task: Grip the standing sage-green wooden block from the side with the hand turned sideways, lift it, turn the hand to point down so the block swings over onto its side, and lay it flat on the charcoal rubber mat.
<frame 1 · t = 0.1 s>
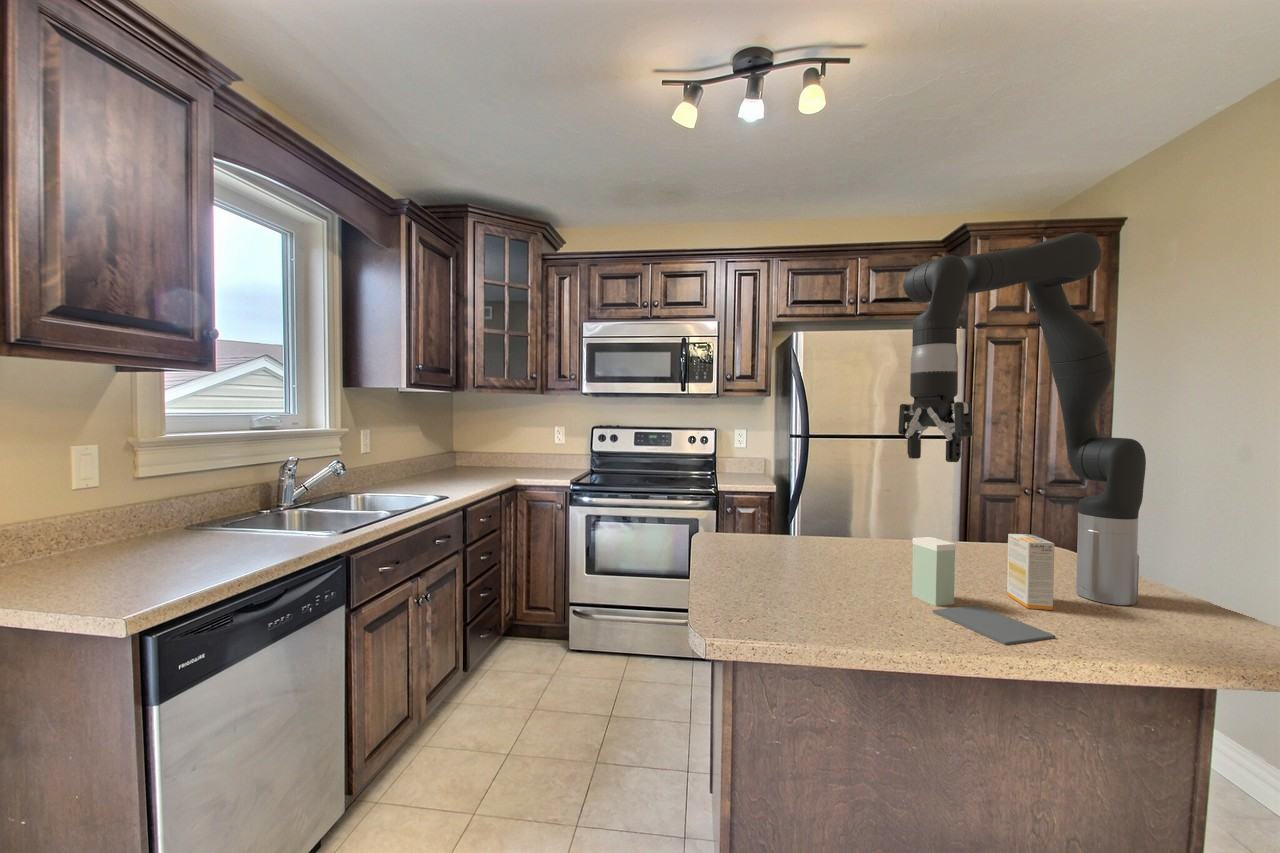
hand: (932, 460, 94), 29 cm above the countertop, tool pointing down, fingers open, 8 cm apart
sage block: (932, 599, 105), on the countertop
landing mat: (990, 624, 93), on the countertop
supplement box: (1029, 603, 104), on the countertop
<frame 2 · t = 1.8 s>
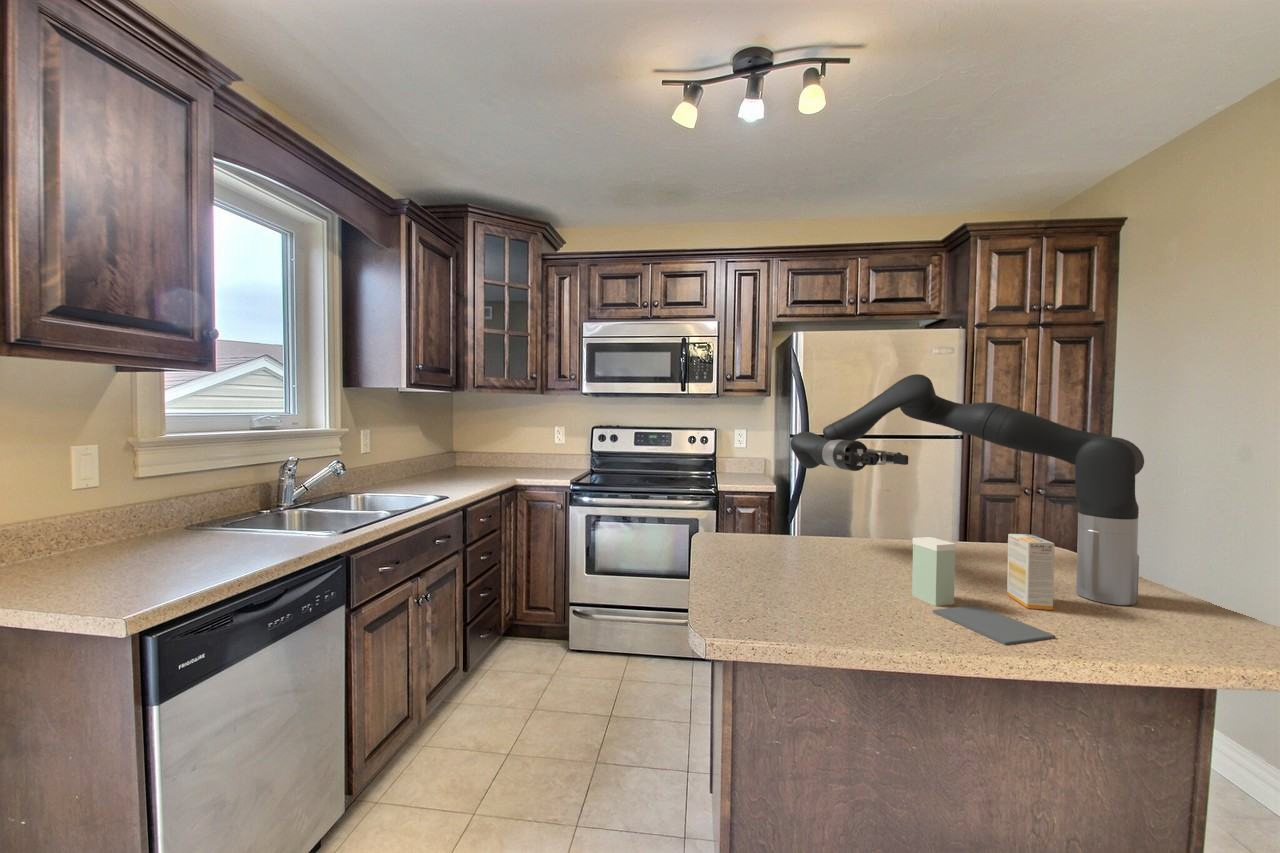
hand: (891, 460, 116), 27 cm above the countertop, tool horizontal, fingers open, 8 cm apart
nothing on the countertop moved.
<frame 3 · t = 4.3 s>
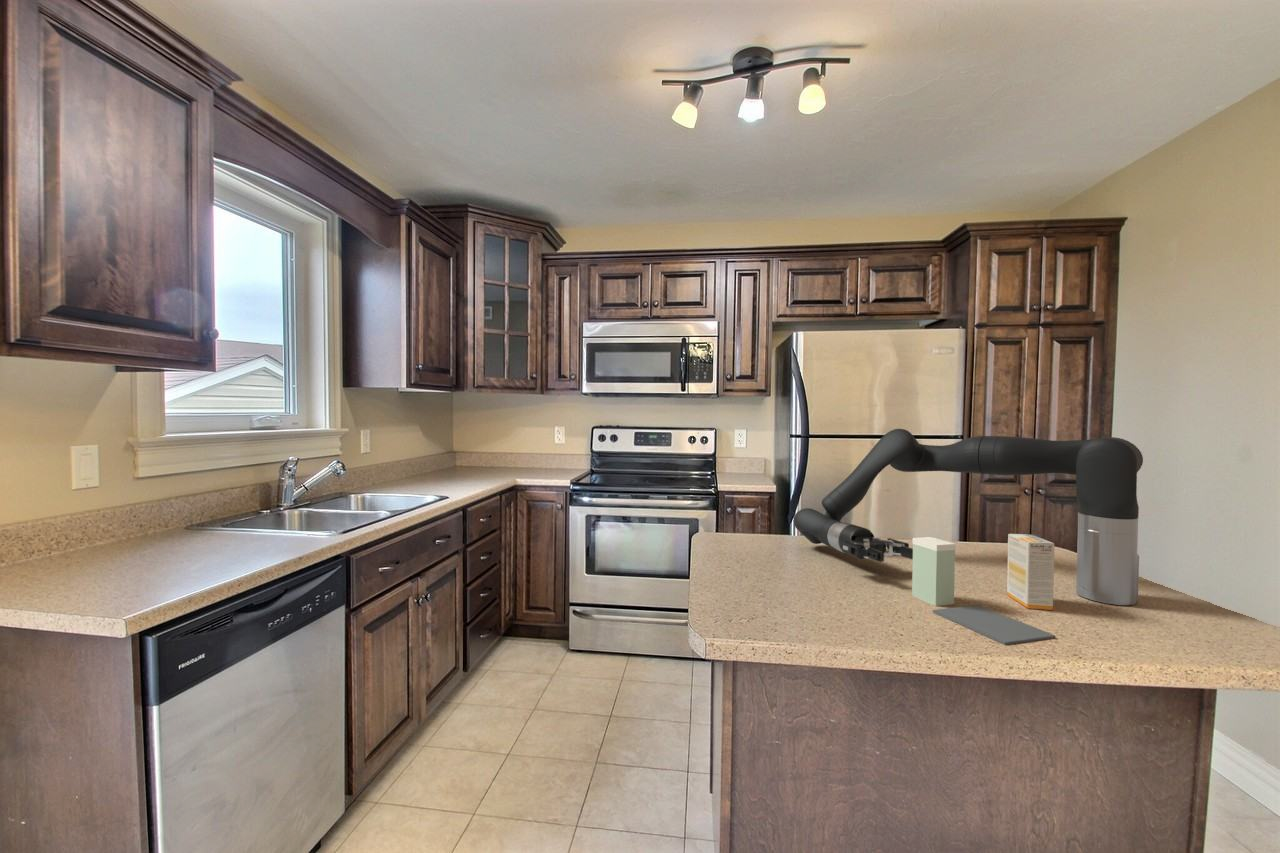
hand: (899, 556, 114), 6 cm above the countertop, tool horizontal, fingers open, 8 cm apart
nothing on the countertop moved.
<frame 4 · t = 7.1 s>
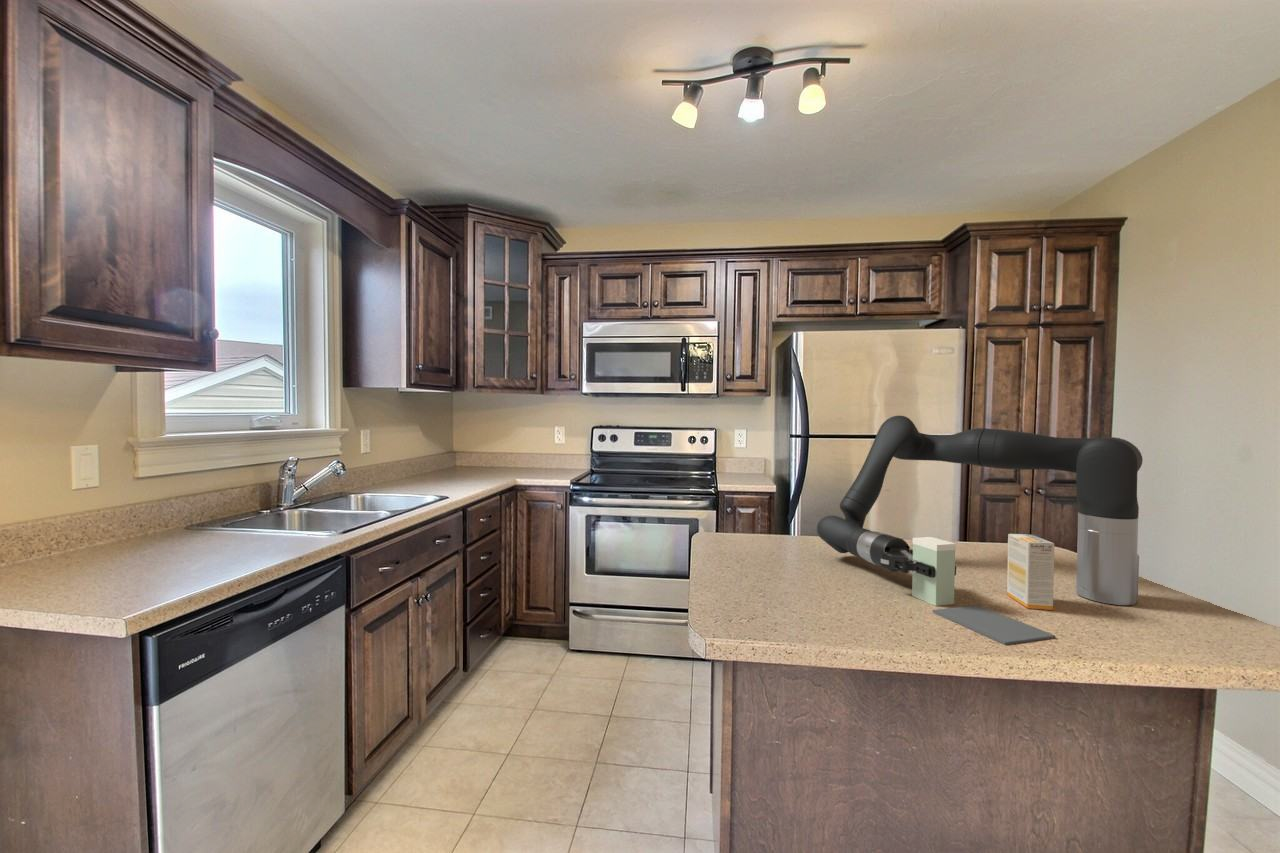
hand: (944, 571, 102), 7 cm above the countertop, tool horizontal, fingers closed on sage block, 4 cm apart
sage block: (932, 599, 105), on the countertop, touching gripper
everything else where it was.
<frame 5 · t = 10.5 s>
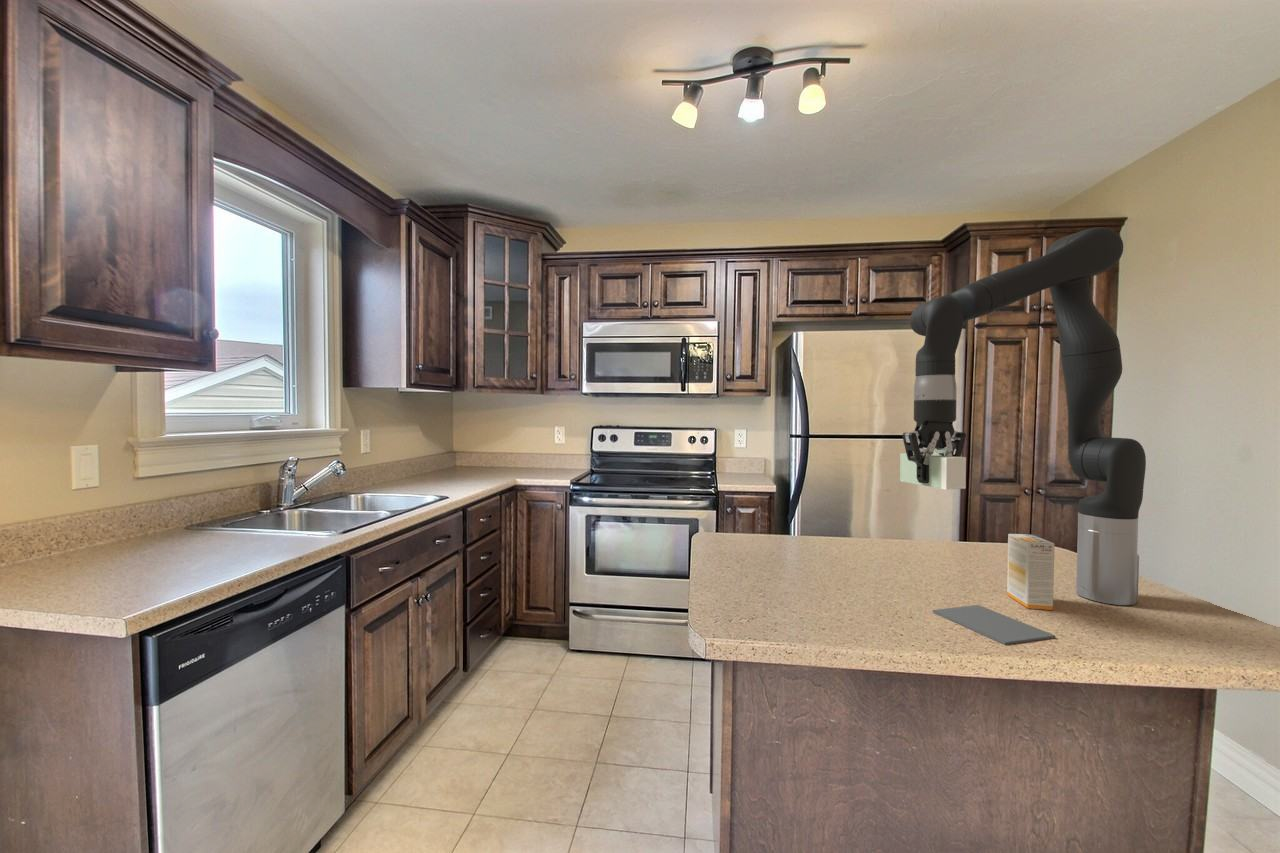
hand: (933, 482, 105), 24 cm above the countertop, tool pointing down, fingers closed on sage block, 4 cm apart
sage block: (909, 467, 111), point 26 cm above the countertop, tilted 90°, touching gripper
everything else where it was.
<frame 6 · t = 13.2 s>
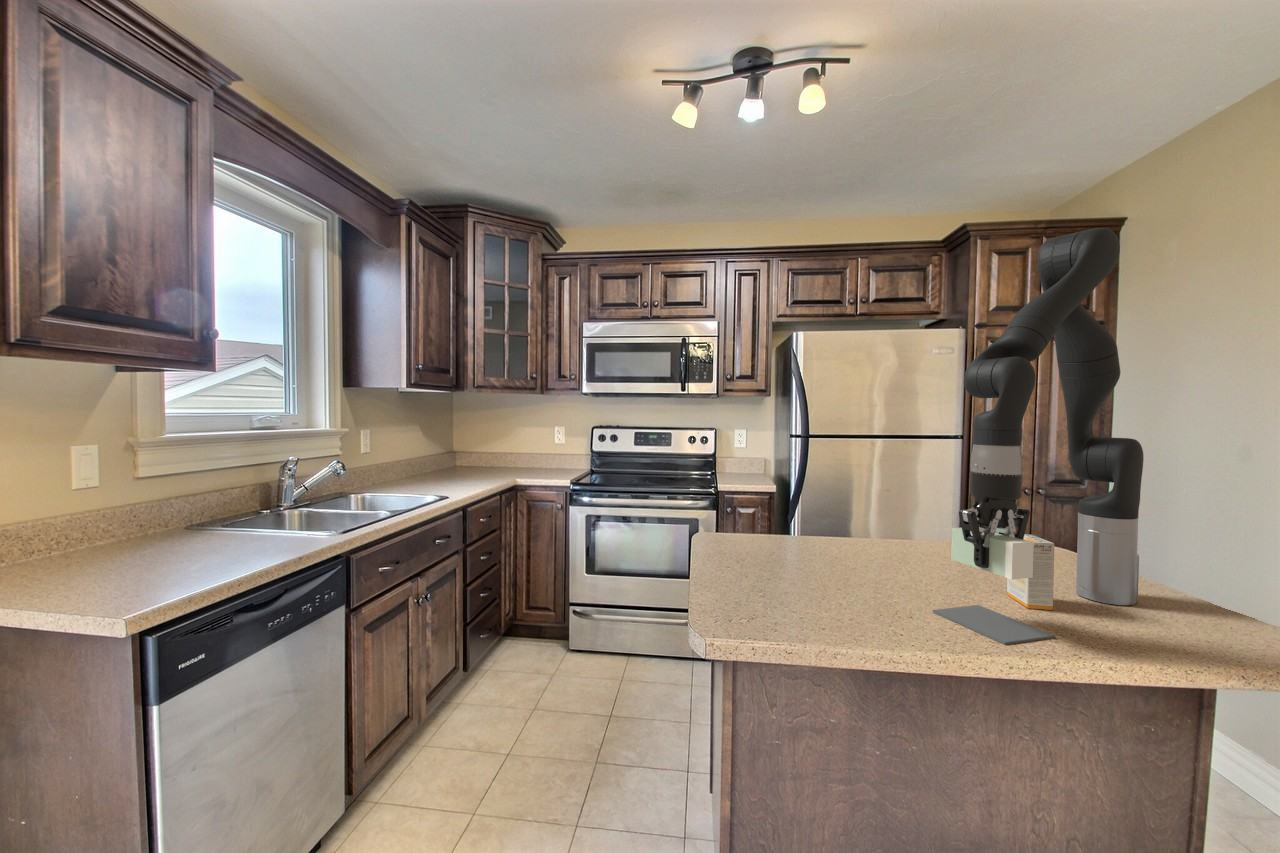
hand: (993, 565, 92), 11 cm above the countertop, tool pointing down, fingers closed on sage block, 4 cm apart
sage block: (960, 543, 99), point 13 cm above the countertop, tilted 90°, touching gripper
everything else where it was.
when the fingers open (3 cm above the countertop, at t = 15.4 s): sage block drops 2 cm, resting on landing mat.
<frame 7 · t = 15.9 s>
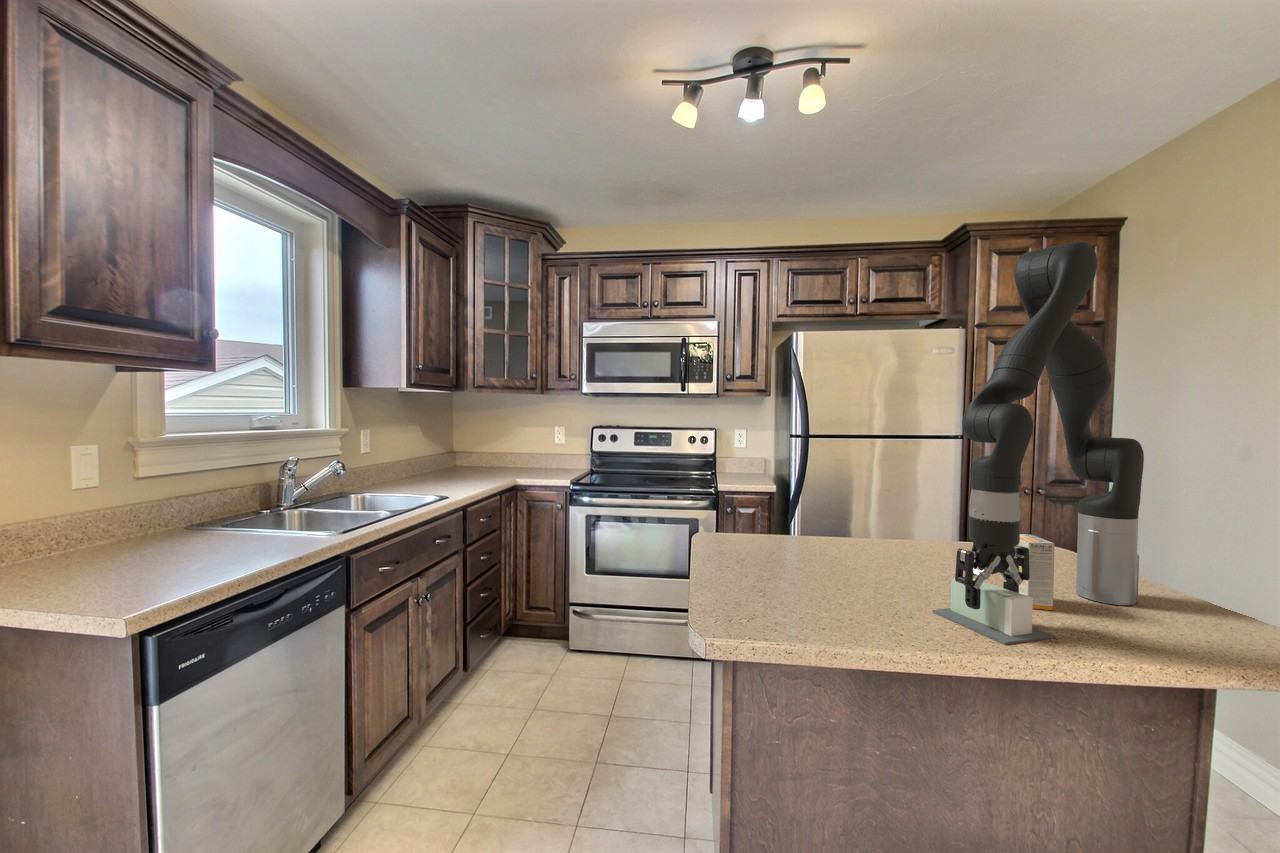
hand: (991, 605, 92), 3 cm above the countertop, tool pointing down, fingers open, 8 cm apart
sage block: (960, 593, 99), point 3 cm above the countertop, tilted 90°, touching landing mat
everything else where it was.
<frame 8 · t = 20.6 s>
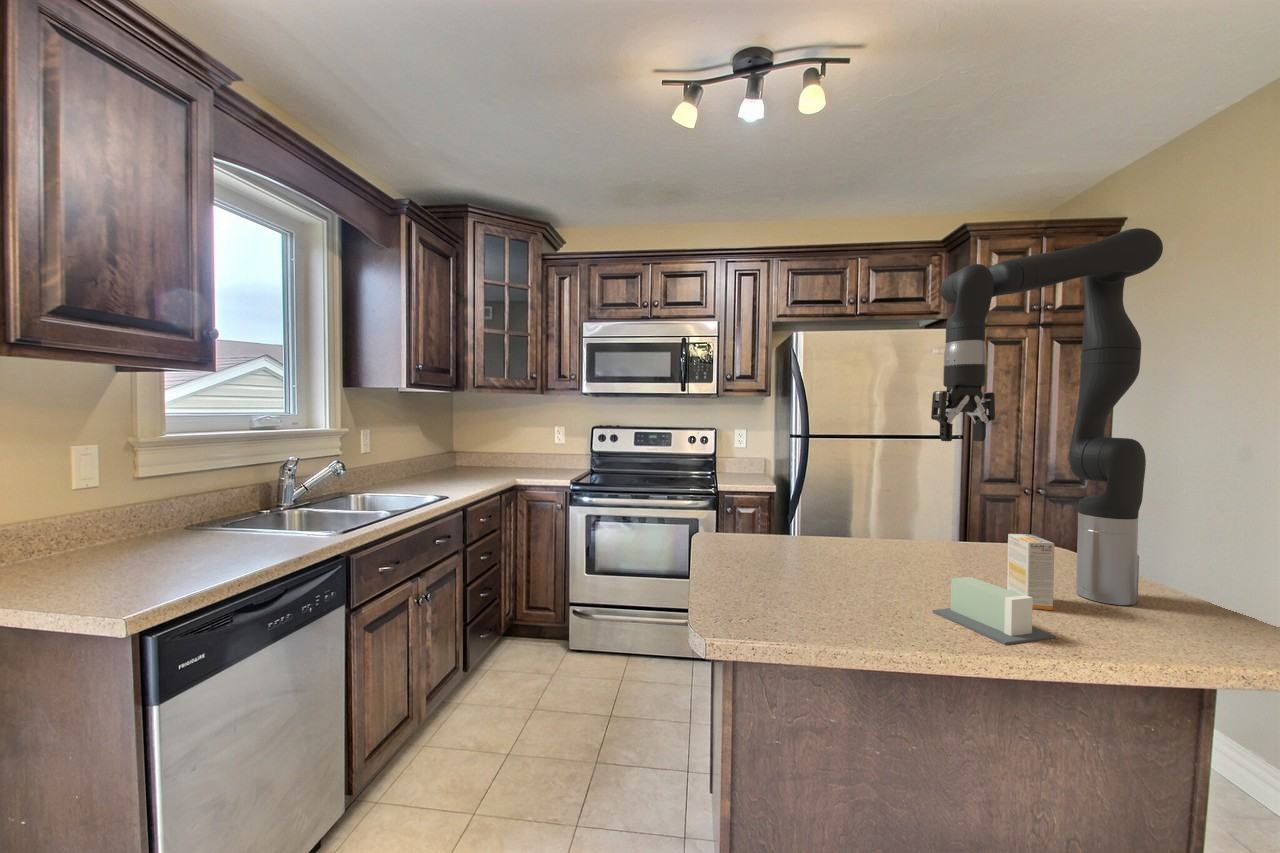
hand: (962, 441, 109), 32 cm above the countertop, tool pointing down, fingers open, 8 cm apart
nothing on the countertop moved.
at the end: sage block tilted 90°; sage block touching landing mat; the gripper is holding nothing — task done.
